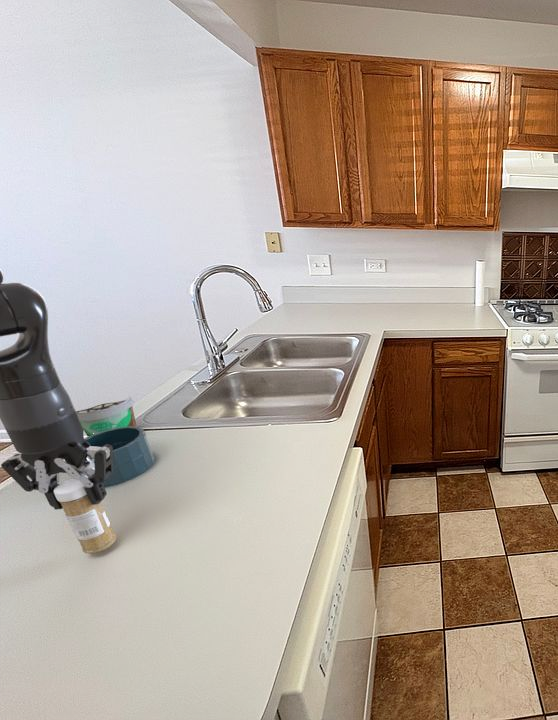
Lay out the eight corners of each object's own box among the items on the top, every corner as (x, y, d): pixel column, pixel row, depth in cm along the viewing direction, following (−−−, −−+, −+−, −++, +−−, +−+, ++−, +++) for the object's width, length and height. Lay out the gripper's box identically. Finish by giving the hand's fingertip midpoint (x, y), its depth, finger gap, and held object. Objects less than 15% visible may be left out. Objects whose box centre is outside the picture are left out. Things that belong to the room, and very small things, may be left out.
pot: (68, 492, 85) (53, 461, 82) (105, 457, 97) (93, 429, 94) (136, 483, 88) (124, 453, 85) (164, 451, 99) (154, 423, 96)
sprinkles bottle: (122, 532, 73) (97, 473, 68) (107, 552, 69) (79, 490, 64) (92, 537, 72) (64, 477, 67) (75, 557, 68) (44, 494, 63)
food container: (81, 454, 98) (65, 419, 94) (83, 443, 103) (68, 409, 99) (144, 436, 105) (132, 403, 102) (144, 427, 110) (132, 395, 106)
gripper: (109, 400, 66) (141, 483, 72) (4, 408, 63) (47, 495, 69) (78, 422, 59) (116, 512, 65) (-42, 434, 56) (10, 527, 62)
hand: (80, 503), depth 67 cm, fingers closed on sprinkles bottle, 4 cm apart
